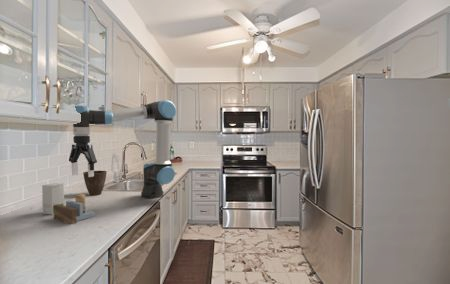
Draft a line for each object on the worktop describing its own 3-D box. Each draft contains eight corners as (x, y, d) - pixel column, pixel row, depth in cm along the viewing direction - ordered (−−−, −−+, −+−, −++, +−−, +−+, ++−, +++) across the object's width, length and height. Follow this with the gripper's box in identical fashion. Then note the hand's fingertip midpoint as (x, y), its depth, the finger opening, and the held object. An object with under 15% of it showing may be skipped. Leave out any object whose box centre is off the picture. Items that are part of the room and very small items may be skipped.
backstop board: (57, 217, 131) (57, 204, 131) (76, 223, 123) (76, 208, 123) (53, 218, 129) (53, 205, 129) (72, 224, 122) (72, 209, 121)
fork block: (80, 212, 139) (80, 197, 139) (94, 215, 134) (94, 200, 133) (60, 217, 130) (59, 202, 130) (74, 221, 124) (73, 205, 124)
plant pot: (90, 191, 190) (90, 170, 189) (110, 192, 190) (110, 170, 189) (78, 196, 175) (78, 173, 174) (100, 196, 175) (100, 173, 174)
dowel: (82, 214, 136) (81, 194, 136) (87, 215, 134) (86, 195, 134) (73, 216, 133) (73, 195, 132) (79, 218, 130) (78, 196, 130)
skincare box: (51, 214, 136) (51, 185, 135) (41, 214, 137) (40, 185, 137) (64, 210, 144) (64, 182, 143) (54, 209, 145) (54, 182, 145)
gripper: (60, 135, 137) (61, 175, 138) (90, 135, 125) (91, 178, 126) (74, 135, 144) (75, 173, 144) (103, 135, 132) (104, 176, 133)
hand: (82, 175), depth 135 cm, fingers open, 13 cm apart
